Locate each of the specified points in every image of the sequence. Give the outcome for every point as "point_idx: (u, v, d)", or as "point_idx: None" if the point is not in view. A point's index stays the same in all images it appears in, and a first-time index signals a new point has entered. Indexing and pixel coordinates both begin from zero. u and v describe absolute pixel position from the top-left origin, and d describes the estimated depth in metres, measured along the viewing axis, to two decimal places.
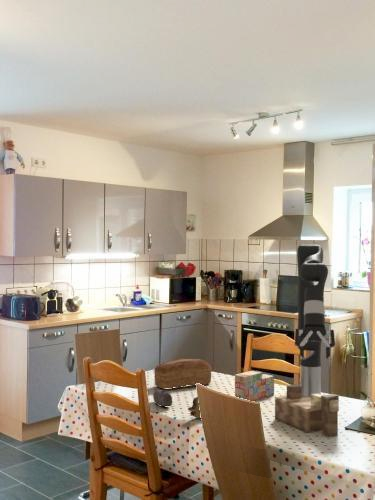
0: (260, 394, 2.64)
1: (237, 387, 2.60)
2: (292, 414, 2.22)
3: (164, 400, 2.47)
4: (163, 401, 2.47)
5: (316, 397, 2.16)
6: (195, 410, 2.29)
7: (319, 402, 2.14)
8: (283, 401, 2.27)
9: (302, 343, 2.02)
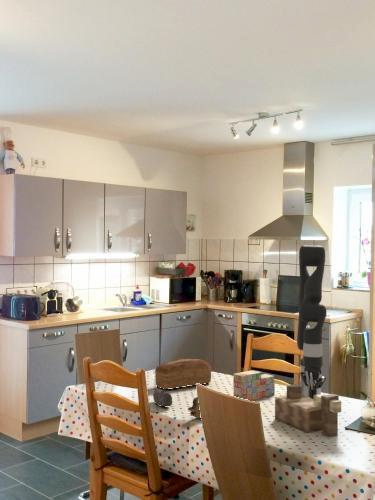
0: (259, 394, 2.65)
1: (235, 386, 2.62)
2: (292, 414, 2.22)
3: (164, 400, 2.47)
4: (163, 401, 2.47)
5: (319, 398, 2.15)
6: (195, 410, 2.29)
7: None
8: (283, 401, 2.27)
9: (309, 385, 2.20)
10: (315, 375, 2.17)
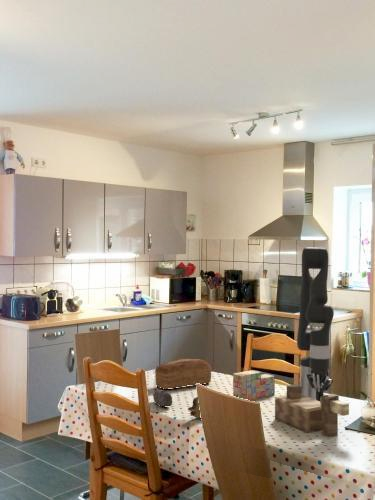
0: (259, 394, 2.65)
1: (235, 386, 2.62)
2: (292, 414, 2.22)
3: (164, 400, 2.47)
4: (163, 401, 2.47)
5: None
6: (195, 410, 2.29)
7: (329, 405, 2.10)
8: (283, 401, 2.27)
9: (316, 388, 2.16)
10: (322, 377, 2.13)
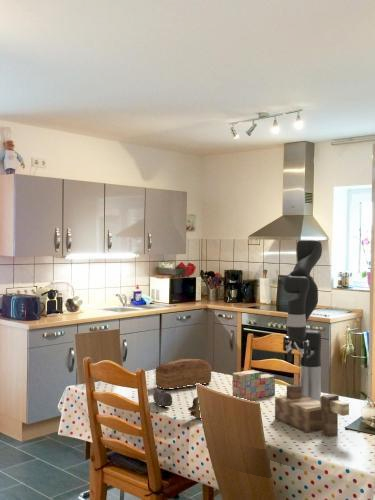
0: (258, 393, 2.65)
1: (234, 385, 2.63)
2: (292, 414, 2.22)
3: (164, 400, 2.47)
4: (163, 401, 2.47)
5: None
6: (195, 410, 2.29)
7: (329, 405, 2.10)
8: (283, 401, 2.27)
9: (287, 350, 2.32)
10: (298, 341, 2.26)
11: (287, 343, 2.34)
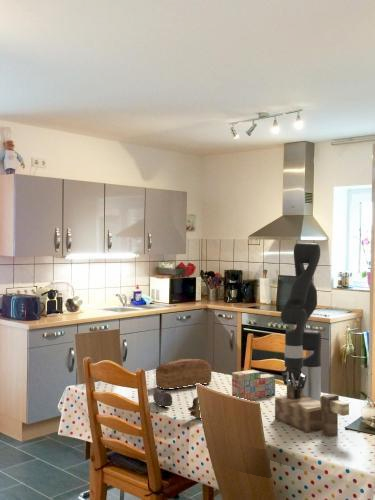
0: (258, 393, 2.66)
1: (233, 385, 2.64)
2: (292, 414, 2.22)
3: (164, 400, 2.47)
4: (163, 401, 2.47)
5: None
6: (195, 410, 2.29)
7: (329, 405, 2.10)
8: (283, 401, 2.27)
9: (288, 384, 2.31)
10: (296, 374, 2.27)
11: (286, 376, 2.34)
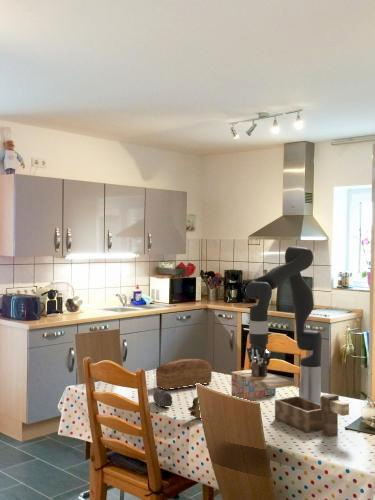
0: (258, 393, 2.66)
1: (233, 384, 2.66)
2: (292, 414, 2.22)
3: (164, 400, 2.47)
4: (163, 401, 2.47)
5: None
6: (195, 410, 2.29)
7: (329, 405, 2.10)
8: (247, 379, 2.18)
9: (253, 362, 2.23)
10: (260, 351, 2.18)
11: (252, 354, 2.25)
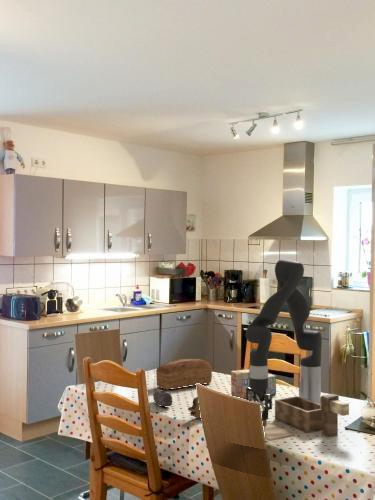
0: None
1: (232, 383, 2.67)
2: (292, 414, 2.22)
3: (164, 400, 2.47)
4: (163, 401, 2.47)
5: None
6: (195, 410, 2.29)
7: (329, 405, 2.10)
8: None
9: None
10: (260, 394, 2.18)
11: (250, 394, 2.26)
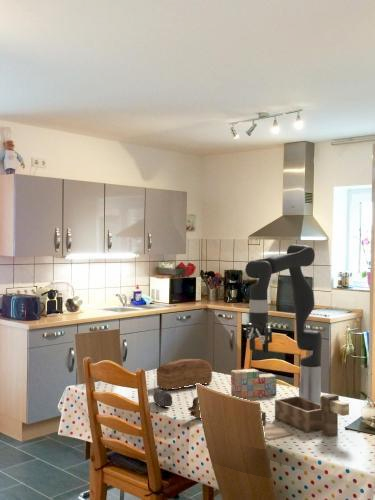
0: (257, 392, 2.68)
1: (232, 382, 2.69)
2: (292, 414, 2.22)
3: (164, 400, 2.47)
4: (163, 401, 2.47)
5: None
6: (195, 410, 2.29)
7: (329, 405, 2.10)
8: None
9: (249, 337, 2.25)
10: (260, 328, 2.18)
11: (250, 330, 2.26)
